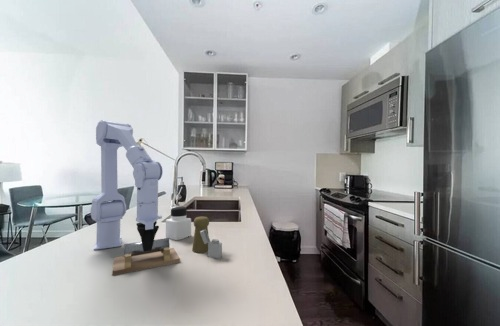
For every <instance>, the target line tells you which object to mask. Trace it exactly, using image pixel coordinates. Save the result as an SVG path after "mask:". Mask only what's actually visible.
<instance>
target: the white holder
mask: <svg viewBox="0 0 500 326" xmlns="http://www.w3.org/2000/svg"><path fill="white" fill-rule="evenodd" d="M200 234H201V237H202V239H203V242H204V244H207V243H208V251H207V257H208V258H215V259H221V258H222V257H223V242H220V240H219V239H216V238H212V239H210V236H208V235H209V233H208V234H207V231H206V229H205V230H203V231H201V232H200Z"/></svg>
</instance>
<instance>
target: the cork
mask: <svg viewBox="0 0 500 326" xmlns="http://www.w3.org/2000/svg"><path fill="white" fill-rule="evenodd" d="M193 219H194V220H193V225H194V227H195V228H194V232H193V233H194V235H193V241H192V248H191V251H192V252H193V253H197V254H200V253H202V254H203V253H208V243H207V244H204V242H203V239H202V237H201V234H200V232H201V231H203V230H205V229H206V231H207V234H208V236H209V228H208V226H209V225H210V220H209V218H208V217H207V216H196V217H195V218H193ZM209 237H210V236H209Z"/></svg>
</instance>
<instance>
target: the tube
mask: <svg viewBox="0 0 500 326" xmlns="http://www.w3.org/2000/svg"><path fill="white" fill-rule="evenodd" d="M170 244H171V243H170V238H166V237H165V238H160V239H154V242H153V247H152V250H150V251H144V250H143V246H142V241H139V242H131V243H125V244H124V246H123V256H124V258H125V254H130V253H131V256H137V255H143V254H149V253H155V252H161V251H163V249H164V248H167V247H169V248H171V247H170Z"/></svg>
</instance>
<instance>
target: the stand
mask: <svg viewBox="0 0 500 326" xmlns="http://www.w3.org/2000/svg"><path fill="white" fill-rule="evenodd" d="M180 262H181V258H180V256H179V254H178V253H177V251H176V250H175V248H174V247H167V248H164V249H163V251H161V252H155V253H149V254H143V255H137V256H131V253H130V254H125V258H124V255H122V256H121V255H120V256H117V257H114V258H113V265H112V271H111V273H112V276H116V275H120V274H126V273H130V272H135V271H140V270H146V269H151V268H155V267H160V266H161V267H162V266H166V265H171V264H176V263H180Z"/></svg>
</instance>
